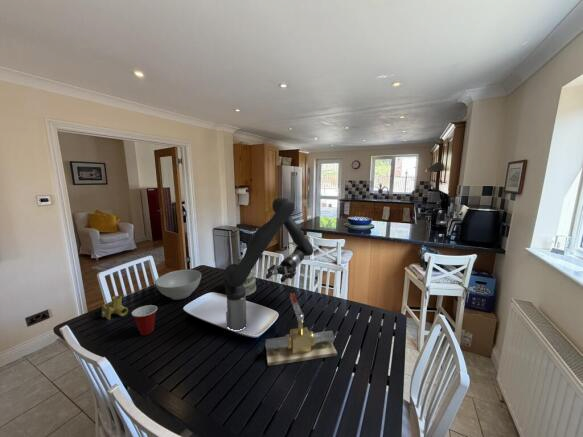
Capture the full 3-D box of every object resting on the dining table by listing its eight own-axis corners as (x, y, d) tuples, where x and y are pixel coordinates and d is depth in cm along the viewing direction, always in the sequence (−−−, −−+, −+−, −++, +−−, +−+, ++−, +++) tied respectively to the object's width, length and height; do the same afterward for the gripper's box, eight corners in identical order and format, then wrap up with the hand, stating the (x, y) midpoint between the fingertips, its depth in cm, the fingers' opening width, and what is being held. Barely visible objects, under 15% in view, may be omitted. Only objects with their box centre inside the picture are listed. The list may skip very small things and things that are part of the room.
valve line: (267, 358, 97) (266, 331, 95) (265, 346, 104) (265, 320, 102) (334, 348, 103) (335, 322, 101) (329, 337, 110) (330, 313, 107)
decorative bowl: (188, 282, 170) (187, 266, 168) (210, 292, 155) (209, 275, 153) (149, 297, 149) (147, 279, 147) (170, 311, 134) (168, 292, 131)
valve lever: (304, 323, 100) (304, 315, 99) (297, 323, 100) (298, 316, 99) (294, 298, 120) (294, 292, 119) (289, 299, 119) (289, 293, 119)
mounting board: (267, 365, 95) (267, 360, 95) (265, 345, 107) (265, 339, 106) (336, 355, 101) (337, 349, 100) (327, 336, 112) (327, 331, 112)
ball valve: (115, 309, 137) (95, 316, 128) (115, 292, 136) (96, 298, 127) (129, 315, 132) (109, 323, 123) (130, 298, 131) (110, 305, 122)
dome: (233, 263, 140) (218, 254, 154) (235, 301, 144) (220, 289, 159) (261, 255, 153) (245, 248, 168) (262, 290, 158) (246, 280, 172)
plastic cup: (164, 326, 120) (162, 305, 118) (147, 340, 110) (144, 317, 108) (147, 323, 123) (145, 302, 121) (129, 336, 113) (125, 314, 110)
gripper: (278, 255, 127) (260, 269, 114) (301, 258, 120) (285, 274, 107) (280, 267, 129) (263, 283, 116) (303, 271, 122) (287, 288, 109)
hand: (273, 279), depth 111 cm, fingers open, 8 cm apart
